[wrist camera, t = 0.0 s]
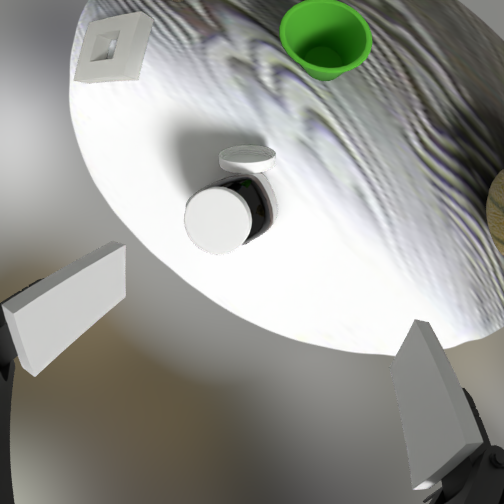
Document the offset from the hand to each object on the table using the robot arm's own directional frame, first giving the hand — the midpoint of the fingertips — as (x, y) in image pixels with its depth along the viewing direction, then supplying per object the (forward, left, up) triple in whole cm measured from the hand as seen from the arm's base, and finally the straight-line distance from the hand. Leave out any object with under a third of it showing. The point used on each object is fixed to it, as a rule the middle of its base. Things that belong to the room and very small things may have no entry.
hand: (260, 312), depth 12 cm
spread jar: (0, -7, -28) cm, 29 cm away
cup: (-19, 0, -28) cm, 34 cm away
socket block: (-20, -32, -28) cm, 47 cm away
